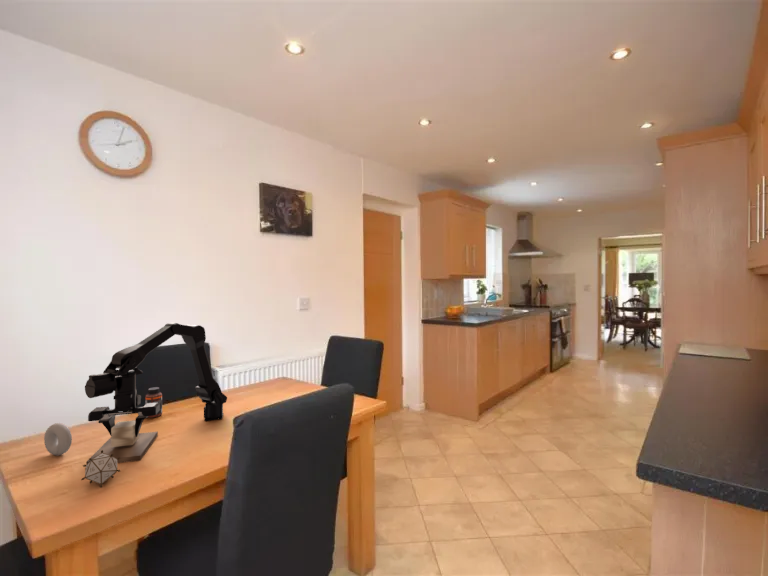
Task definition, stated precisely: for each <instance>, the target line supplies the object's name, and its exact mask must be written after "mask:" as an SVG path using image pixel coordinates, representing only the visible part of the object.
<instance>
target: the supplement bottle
mask: <svg viewBox="0 0 768 576" xmlns="http://www.w3.org/2000/svg"><path fill="white" fill-rule="evenodd" d="M147 392H148V393H146V394H145V403H144V405H145V404H146V403H157V402H158V403H159V405H160V410H159V412H158V413H157V414H156V415H154V416H148V417H147V418H149V419H151V418H157V417H160V416H161V415H162V414H163V393H162V392H161V391H160V387H158V386H155V387H150V388H148V390H147Z"/></svg>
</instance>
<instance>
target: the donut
mask: <svg viewBox="0 0 768 576" xmlns="http://www.w3.org/2000/svg"><path fill="white" fill-rule="evenodd" d="M43 436H44V440H43V443H44V446H45V449H46V451H47V452H48V453H49V454H50V455H53V456H62V455H64V454H65V453H67V452H68V451H69V449H70V448H71V445H72V442H73V435H72V433H71V430H70V428H69V427H68V426H67V425H66V424H65V423H61V422H59V423H58V422H57V423H53V424H51V425H50V426H49V427H48V428H47V429H46V430H45V432H44V435H43Z"/></svg>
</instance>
